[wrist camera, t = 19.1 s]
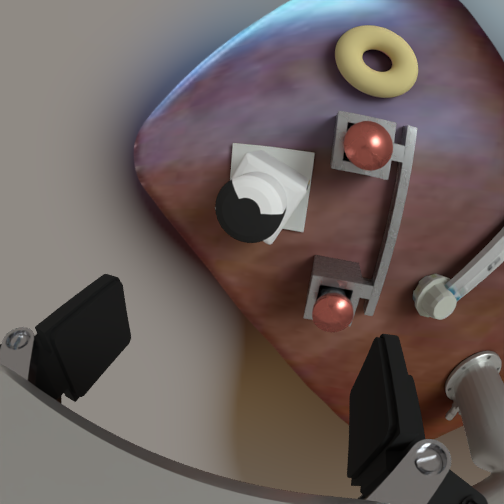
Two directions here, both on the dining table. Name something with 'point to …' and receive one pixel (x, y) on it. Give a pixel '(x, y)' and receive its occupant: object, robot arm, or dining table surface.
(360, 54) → the donut
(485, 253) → the grey piece
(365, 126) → the plunger
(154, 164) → the dining table surface
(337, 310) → the plunger
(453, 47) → the dining table surface
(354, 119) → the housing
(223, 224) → the medicine bottle
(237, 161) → the mat
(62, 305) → the robot arm
